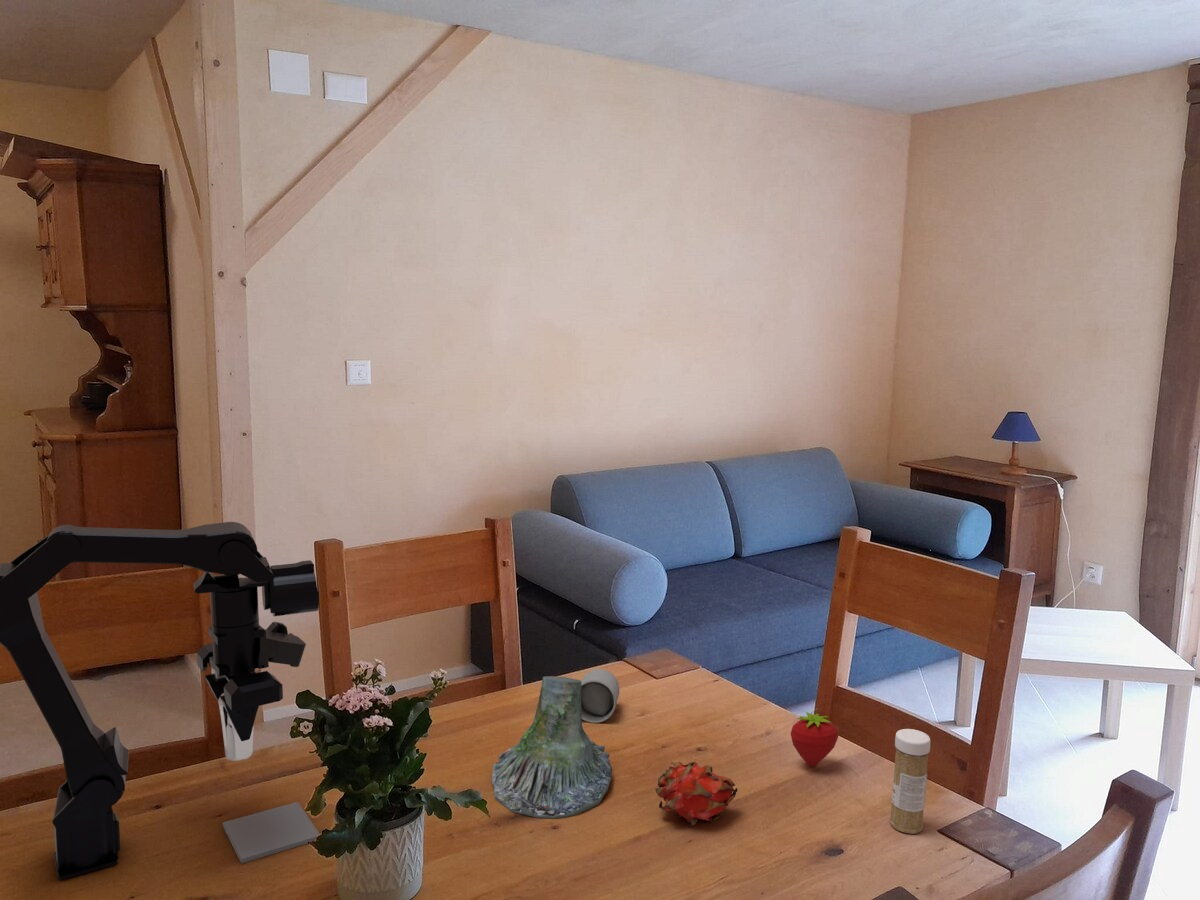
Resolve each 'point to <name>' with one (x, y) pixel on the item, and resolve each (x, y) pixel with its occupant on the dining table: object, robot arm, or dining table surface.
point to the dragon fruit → (695, 792)
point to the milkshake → (234, 738)
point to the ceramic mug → (598, 695)
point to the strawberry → (813, 738)
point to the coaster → (270, 832)
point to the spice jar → (909, 780)
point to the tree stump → (553, 759)
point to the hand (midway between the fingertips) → (240, 734)
